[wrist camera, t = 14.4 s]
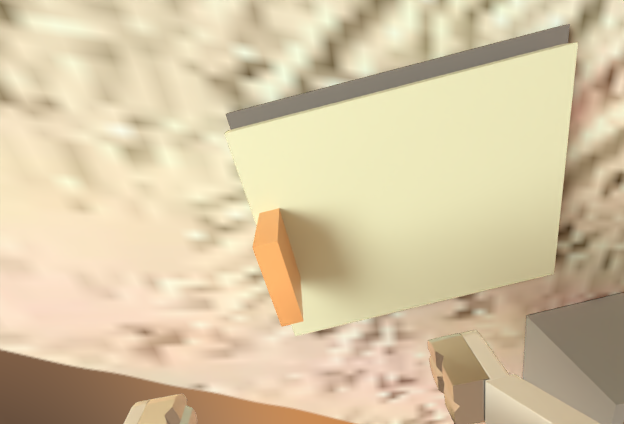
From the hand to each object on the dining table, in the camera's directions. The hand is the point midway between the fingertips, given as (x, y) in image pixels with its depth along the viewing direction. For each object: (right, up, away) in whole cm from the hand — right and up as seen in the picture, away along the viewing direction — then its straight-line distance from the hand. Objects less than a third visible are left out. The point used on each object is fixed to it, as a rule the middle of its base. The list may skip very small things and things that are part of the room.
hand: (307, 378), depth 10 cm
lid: (+6, +6, +11) cm, 14 cm away
